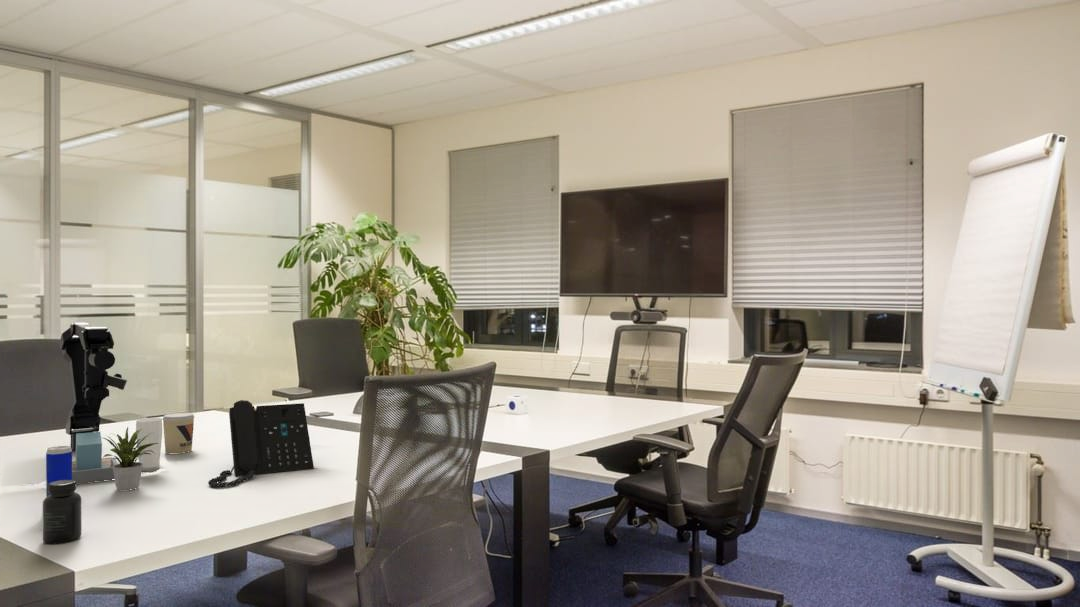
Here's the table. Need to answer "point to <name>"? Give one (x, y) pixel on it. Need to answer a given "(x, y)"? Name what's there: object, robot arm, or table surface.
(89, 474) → the box
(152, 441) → the white tall tapered cylinder
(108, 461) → the board
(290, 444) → the office phone
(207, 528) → the table surface
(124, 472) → the house plant
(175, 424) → the coffee cup
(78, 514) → the supplement bottle
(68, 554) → the table surface
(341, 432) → the table surface
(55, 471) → the beverage can
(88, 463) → the block
